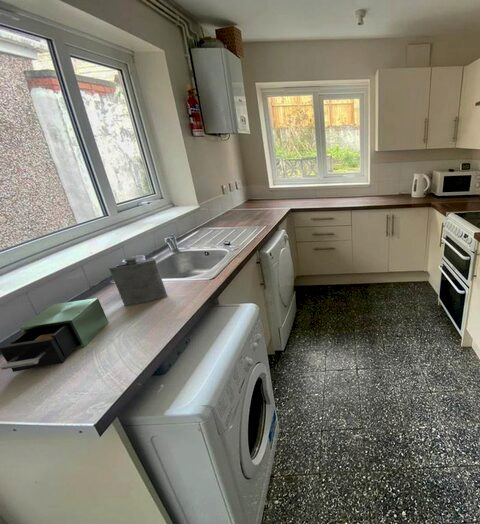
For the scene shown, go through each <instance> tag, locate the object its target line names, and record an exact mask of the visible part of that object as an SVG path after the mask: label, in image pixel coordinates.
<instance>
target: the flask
mask: <svg viewBox="0 0 480 524" xmlns="http://www.w3.org/2000/svg"><path fill="white" fill-rule="evenodd" d="M125 261H126V262H127V263H123V262H122V263H119V264H113V265H111V266H109V267H108V269H109V271H110V274H111V276H112V279H113V282H114V284H115V286H116V289H117V292H118V293H119V296H120V298H121V301H122V303H123V306H124V307H130V306H135V305H140V304H145V303H150V302H154V301H157V300H161V299H165V298H166V297H168V293H167V290H166V287H165V285H164V284H165V283H164V282H163V278H162V276H161V272H160V270H159V266H158V264H157V260H156V259H155V258H149V259H145V260H144V261H139V262H136V257H133V256H130V257H127V258H125Z"/></svg>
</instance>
